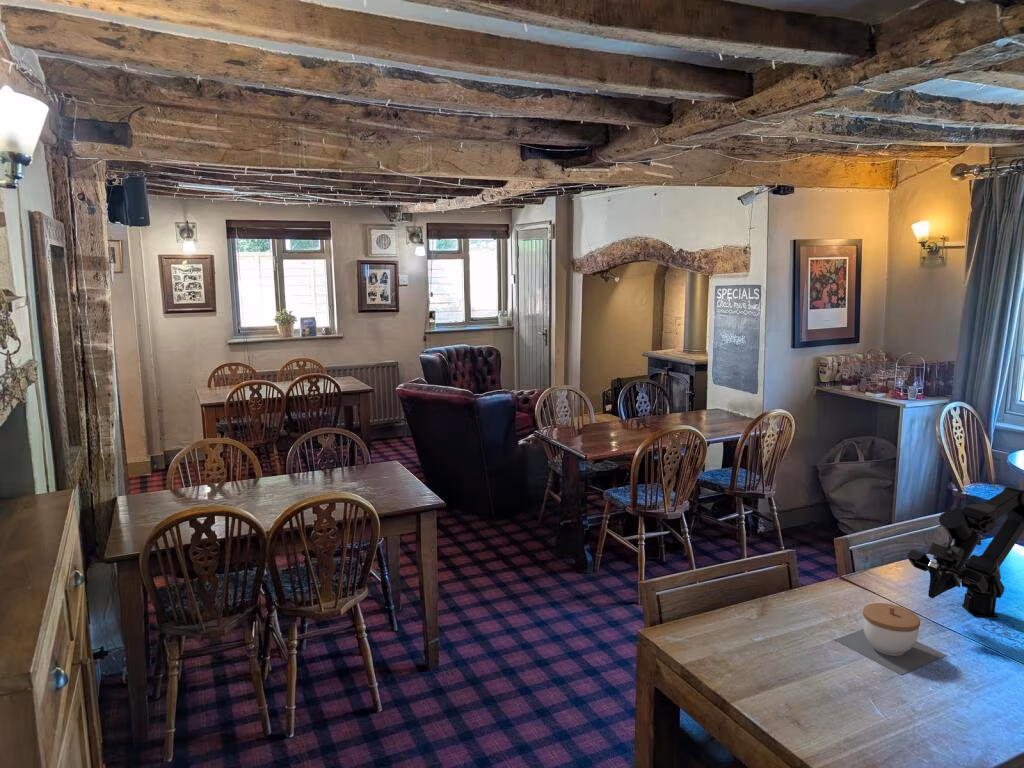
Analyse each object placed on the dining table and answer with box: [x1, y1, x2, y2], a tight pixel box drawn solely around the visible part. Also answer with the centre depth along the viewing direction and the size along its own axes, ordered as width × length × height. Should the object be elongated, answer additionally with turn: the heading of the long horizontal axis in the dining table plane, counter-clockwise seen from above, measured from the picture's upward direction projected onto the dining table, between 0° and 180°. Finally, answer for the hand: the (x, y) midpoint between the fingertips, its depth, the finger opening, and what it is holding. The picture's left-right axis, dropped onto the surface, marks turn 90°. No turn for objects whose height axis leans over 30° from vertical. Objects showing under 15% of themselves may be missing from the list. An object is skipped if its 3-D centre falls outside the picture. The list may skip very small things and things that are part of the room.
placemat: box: [834, 629, 947, 676], centre depth 178 cm, size 18×18×1 cm
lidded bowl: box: [862, 602, 921, 656], centre depth 177 cm, size 13×13×11 cm
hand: (930, 597), depth 184 cm, fingers closed
